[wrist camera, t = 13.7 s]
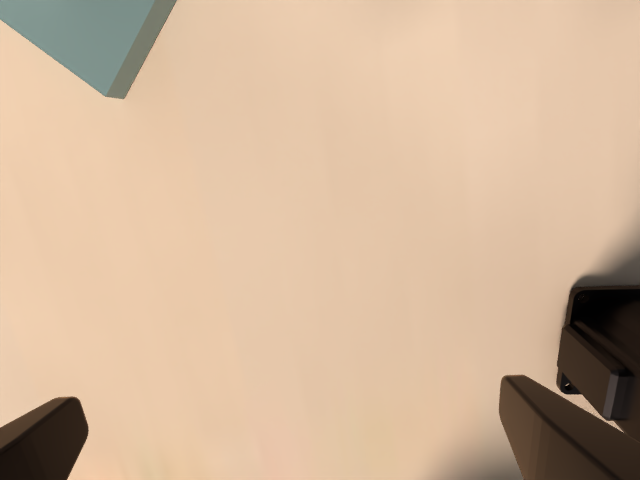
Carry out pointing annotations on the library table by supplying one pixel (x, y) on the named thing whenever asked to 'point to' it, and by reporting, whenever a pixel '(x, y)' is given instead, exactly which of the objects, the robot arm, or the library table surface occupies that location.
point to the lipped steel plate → (92, 35)
